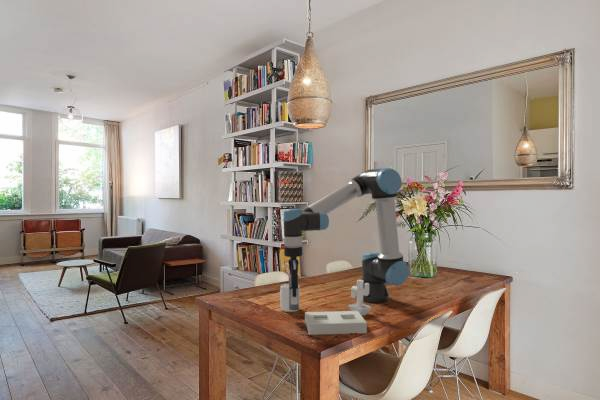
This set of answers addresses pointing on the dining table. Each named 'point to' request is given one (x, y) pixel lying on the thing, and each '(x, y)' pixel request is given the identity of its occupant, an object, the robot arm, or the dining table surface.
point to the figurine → (360, 298)
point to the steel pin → (294, 306)
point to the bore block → (335, 322)
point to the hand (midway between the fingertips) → (293, 302)
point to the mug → (286, 298)
